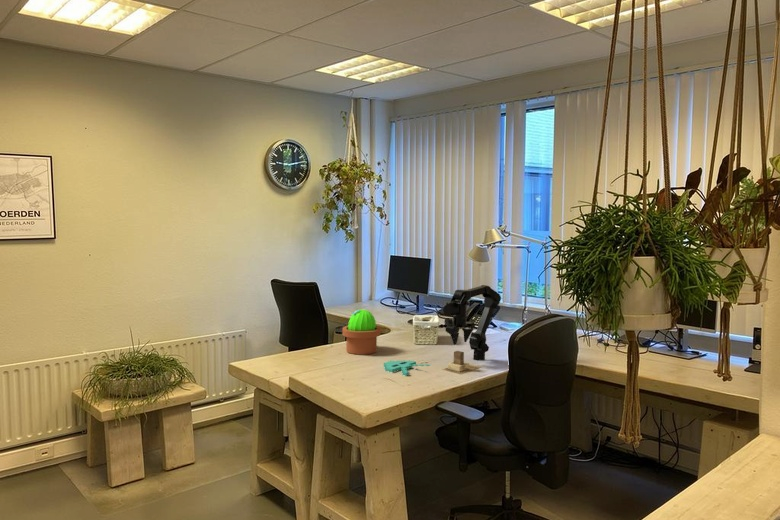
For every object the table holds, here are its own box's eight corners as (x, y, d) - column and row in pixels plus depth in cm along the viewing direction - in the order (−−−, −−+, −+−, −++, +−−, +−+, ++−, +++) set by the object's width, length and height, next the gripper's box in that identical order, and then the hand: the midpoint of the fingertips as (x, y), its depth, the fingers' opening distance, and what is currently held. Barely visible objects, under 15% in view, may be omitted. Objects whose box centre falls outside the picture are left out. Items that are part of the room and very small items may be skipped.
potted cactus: (381, 347, 342) (381, 305, 340) (379, 356, 320) (379, 312, 318) (344, 346, 342) (344, 305, 340) (340, 355, 320) (340, 311, 318)
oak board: (462, 365, 302) (463, 362, 302) (482, 370, 294) (482, 367, 294) (441, 372, 289) (441, 369, 289) (461, 377, 281) (461, 374, 281)
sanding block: (457, 366, 294) (458, 349, 294) (468, 369, 290) (469, 351, 289) (448, 369, 289) (448, 352, 288) (459, 372, 284) (459, 354, 283)
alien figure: (429, 368, 297) (399, 362, 310) (429, 364, 297) (399, 358, 310) (406, 377, 282) (375, 369, 294) (406, 372, 281) (375, 365, 294)
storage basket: (413, 336, 372) (413, 314, 371) (438, 337, 371) (438, 314, 370) (412, 345, 348) (412, 321, 347) (439, 345, 347) (439, 321, 346)
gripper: (459, 310, 312) (458, 338, 313) (437, 314, 298) (436, 343, 299) (476, 312, 304) (475, 341, 305) (454, 317, 290) (454, 347, 292)
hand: (460, 343), depth 301 cm, fingers open, 9 cm apart
